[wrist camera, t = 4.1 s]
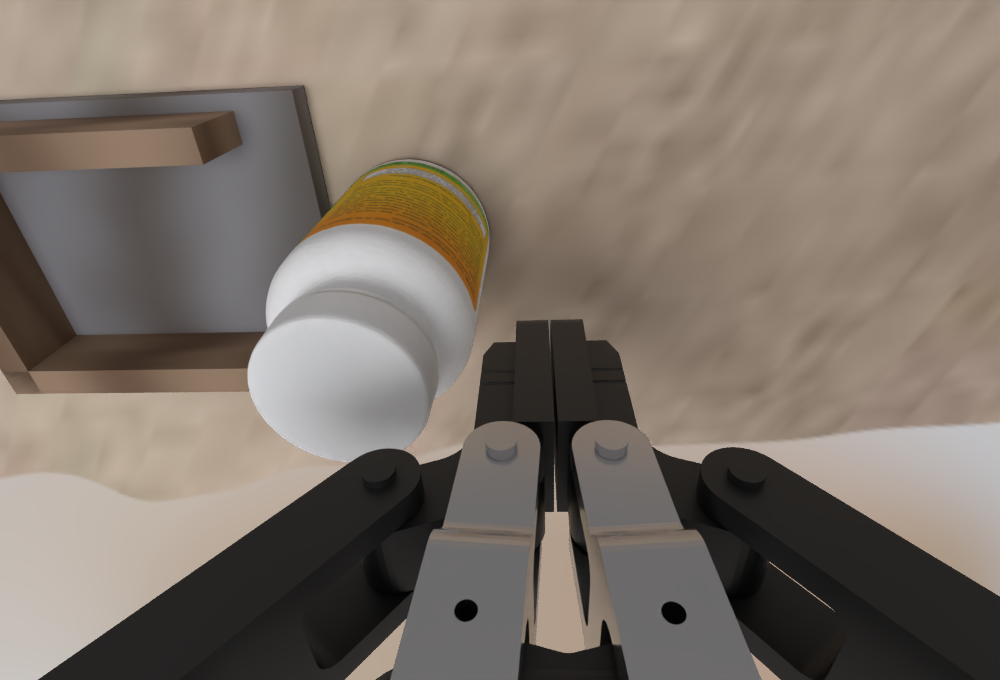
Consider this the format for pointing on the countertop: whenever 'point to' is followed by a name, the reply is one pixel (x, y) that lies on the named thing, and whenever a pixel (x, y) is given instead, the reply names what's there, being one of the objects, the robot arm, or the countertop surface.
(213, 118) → the u rest
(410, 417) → the supplement bottle
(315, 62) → the countertop surface
